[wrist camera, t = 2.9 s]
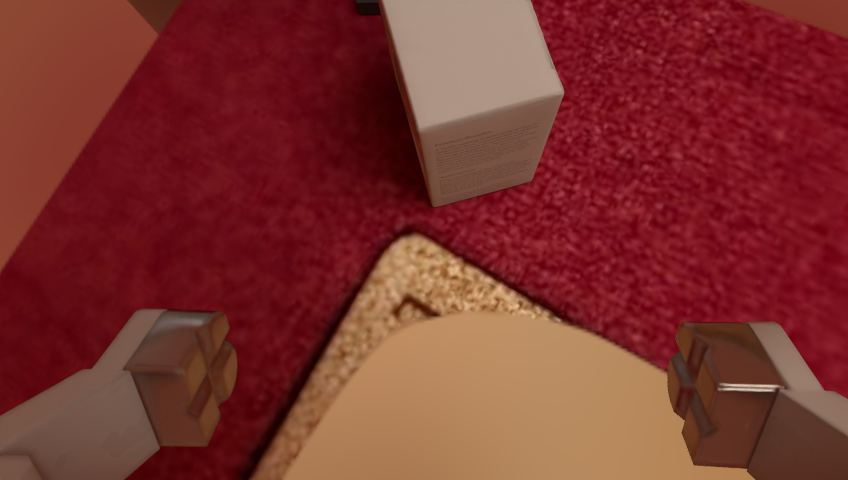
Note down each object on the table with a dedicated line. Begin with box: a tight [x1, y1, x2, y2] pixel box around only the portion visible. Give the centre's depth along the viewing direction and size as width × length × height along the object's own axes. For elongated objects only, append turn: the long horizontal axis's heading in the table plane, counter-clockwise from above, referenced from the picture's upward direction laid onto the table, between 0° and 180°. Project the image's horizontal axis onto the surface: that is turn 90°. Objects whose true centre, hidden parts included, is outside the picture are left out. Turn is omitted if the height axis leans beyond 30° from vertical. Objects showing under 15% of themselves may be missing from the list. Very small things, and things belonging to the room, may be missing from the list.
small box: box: [378, 0, 564, 207], centre depth 27 cm, size 8×6×10 cm
